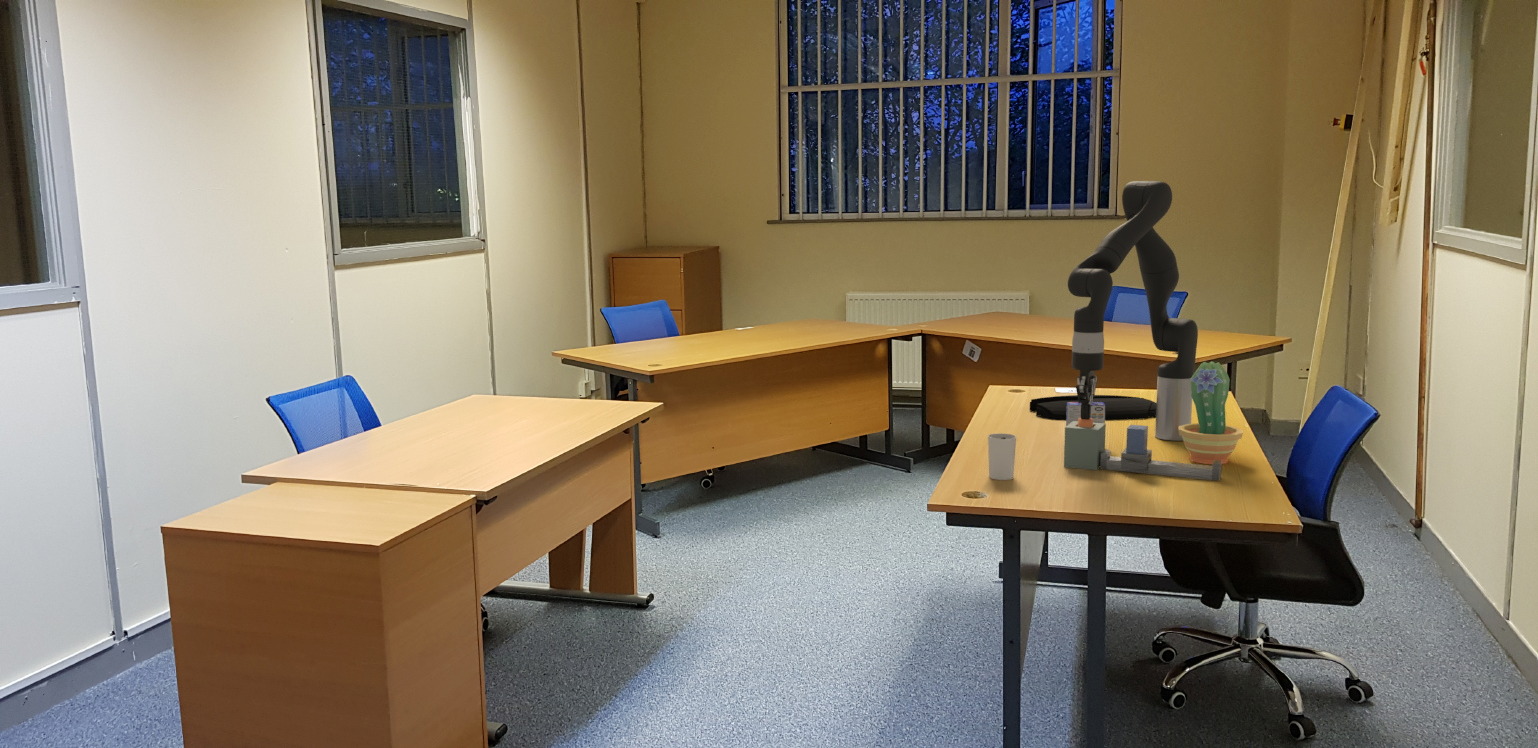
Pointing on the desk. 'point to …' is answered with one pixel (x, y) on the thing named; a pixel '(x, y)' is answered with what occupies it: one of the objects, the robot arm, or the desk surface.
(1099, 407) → the ink cartridge box
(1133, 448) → the carriage
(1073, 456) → the grey-green socket block
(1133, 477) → the desk surface
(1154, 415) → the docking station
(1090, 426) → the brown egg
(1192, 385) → the potted cactus
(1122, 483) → the desk surface
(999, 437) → the cream cup
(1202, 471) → the rail
